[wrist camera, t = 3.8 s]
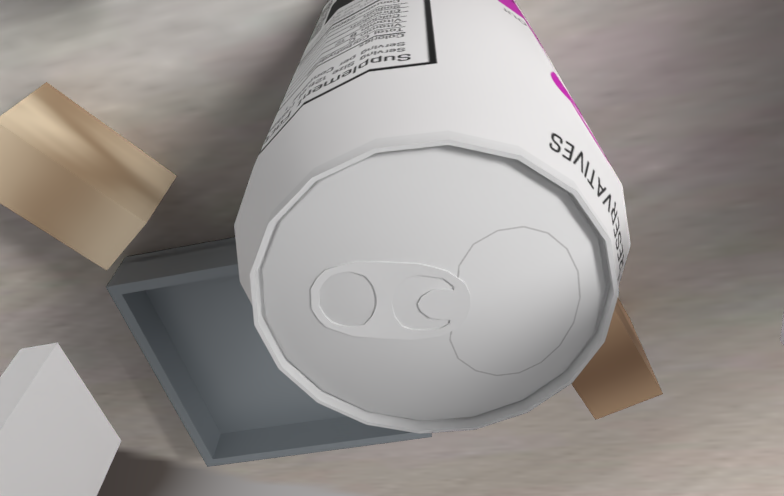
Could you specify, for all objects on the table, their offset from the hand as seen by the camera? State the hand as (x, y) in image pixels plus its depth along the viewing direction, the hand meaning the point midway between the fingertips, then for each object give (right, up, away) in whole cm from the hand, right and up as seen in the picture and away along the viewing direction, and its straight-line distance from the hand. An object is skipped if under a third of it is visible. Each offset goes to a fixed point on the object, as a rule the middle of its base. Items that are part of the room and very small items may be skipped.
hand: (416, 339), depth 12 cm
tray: (-6, -3, +21) cm, 22 cm away
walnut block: (+8, 0, +19) cm, 21 cm away
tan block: (-13, +6, +16) cm, 21 cm away
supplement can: (+1, +9, +13) cm, 16 cm away
